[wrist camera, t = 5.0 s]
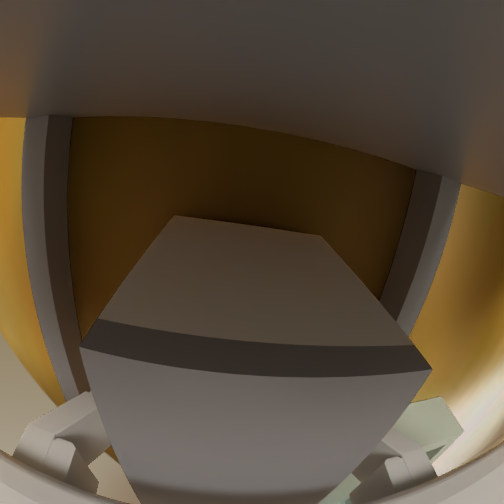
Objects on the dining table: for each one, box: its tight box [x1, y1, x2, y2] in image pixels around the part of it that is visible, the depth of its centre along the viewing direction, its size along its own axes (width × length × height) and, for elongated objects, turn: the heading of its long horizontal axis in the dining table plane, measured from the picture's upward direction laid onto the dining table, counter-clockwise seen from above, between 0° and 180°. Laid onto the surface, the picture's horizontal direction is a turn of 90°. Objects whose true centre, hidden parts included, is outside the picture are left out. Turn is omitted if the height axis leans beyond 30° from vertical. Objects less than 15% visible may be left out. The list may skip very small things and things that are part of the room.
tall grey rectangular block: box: [79, 215, 432, 504], centre depth 7 cm, size 4×9×6 cm, turn 171°
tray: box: [318, 396, 464, 504], centre depth 15 cm, size 13×17×4 cm
